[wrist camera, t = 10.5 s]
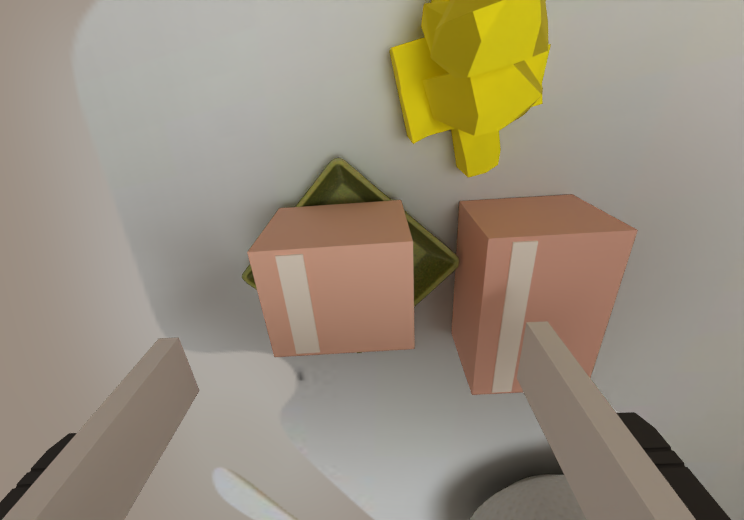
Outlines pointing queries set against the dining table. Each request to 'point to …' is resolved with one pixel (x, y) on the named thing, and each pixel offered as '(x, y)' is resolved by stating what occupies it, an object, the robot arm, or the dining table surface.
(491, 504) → the cereal bowl
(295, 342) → the pink box
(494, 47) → the yellow faceted figurine
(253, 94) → the dining table surface
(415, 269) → the green square tray
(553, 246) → the pink striped box
